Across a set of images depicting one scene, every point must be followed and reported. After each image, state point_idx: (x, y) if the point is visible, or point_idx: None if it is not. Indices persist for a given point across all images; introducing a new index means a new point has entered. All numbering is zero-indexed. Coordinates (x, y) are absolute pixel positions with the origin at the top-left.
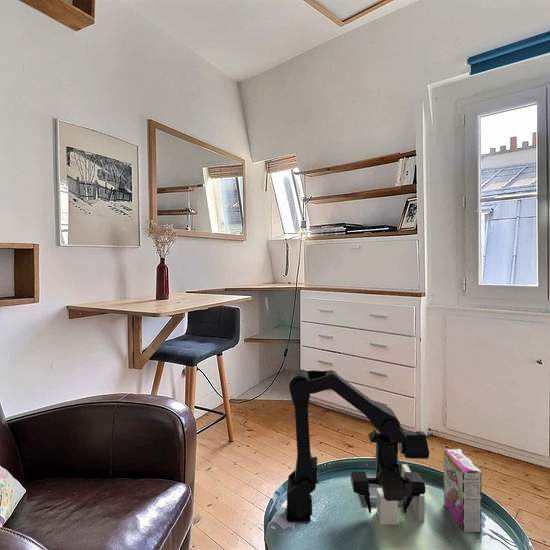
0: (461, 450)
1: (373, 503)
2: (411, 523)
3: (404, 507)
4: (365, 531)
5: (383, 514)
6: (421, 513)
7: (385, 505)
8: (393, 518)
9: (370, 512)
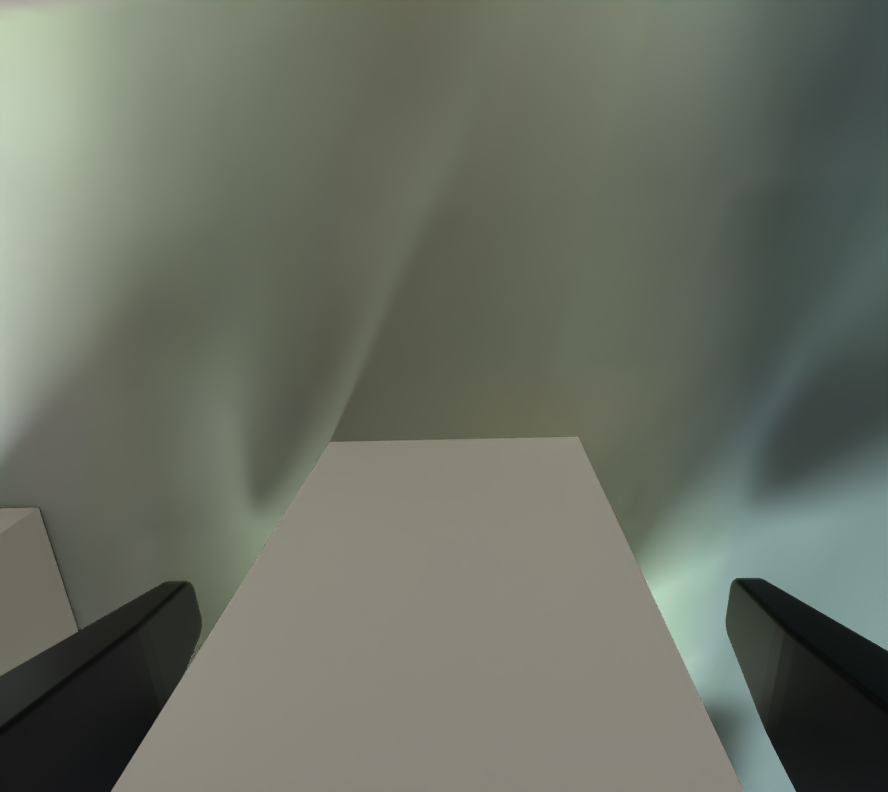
0: None
1: None
2: (139, 468)
3: (107, 661)
4: (876, 271)
5: (557, 516)
6: None
7: (537, 664)
8: (375, 481)
9: (754, 585)
